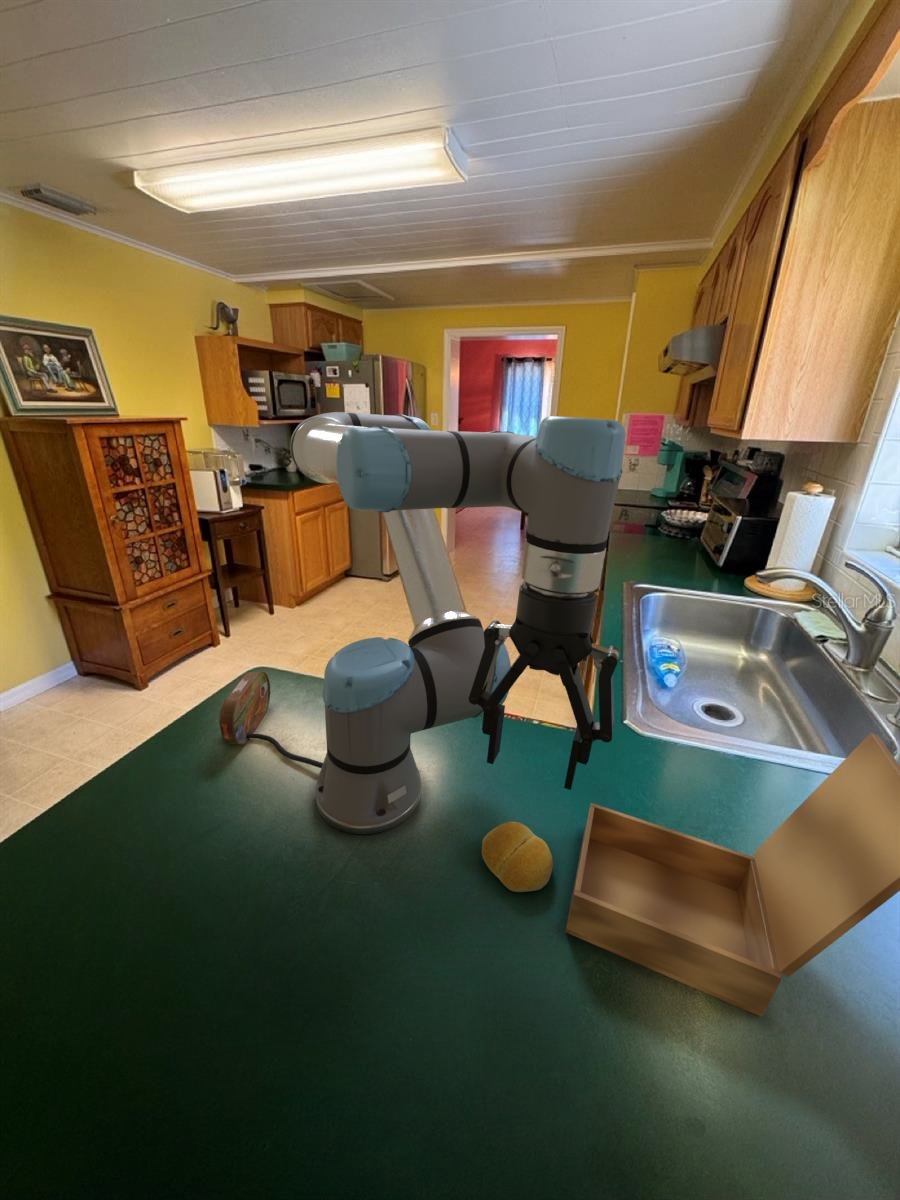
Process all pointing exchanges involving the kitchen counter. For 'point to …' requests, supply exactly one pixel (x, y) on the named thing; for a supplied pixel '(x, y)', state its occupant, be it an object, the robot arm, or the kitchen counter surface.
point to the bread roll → (517, 857)
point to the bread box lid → (833, 856)
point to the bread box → (675, 907)
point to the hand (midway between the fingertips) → (530, 768)
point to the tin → (244, 707)
